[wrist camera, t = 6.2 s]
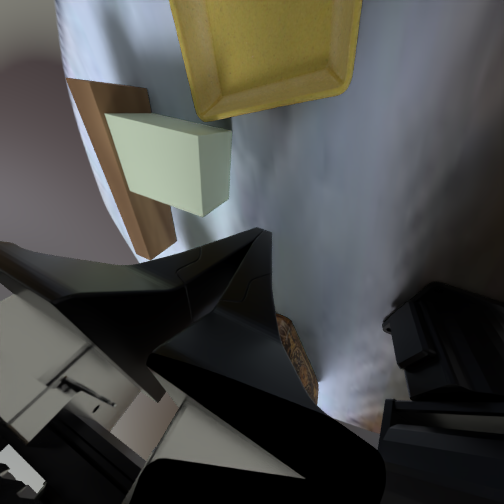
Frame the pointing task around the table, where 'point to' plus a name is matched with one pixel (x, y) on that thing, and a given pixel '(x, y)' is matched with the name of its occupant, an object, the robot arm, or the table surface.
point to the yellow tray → (265, 52)
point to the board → (129, 203)
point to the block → (173, 159)
